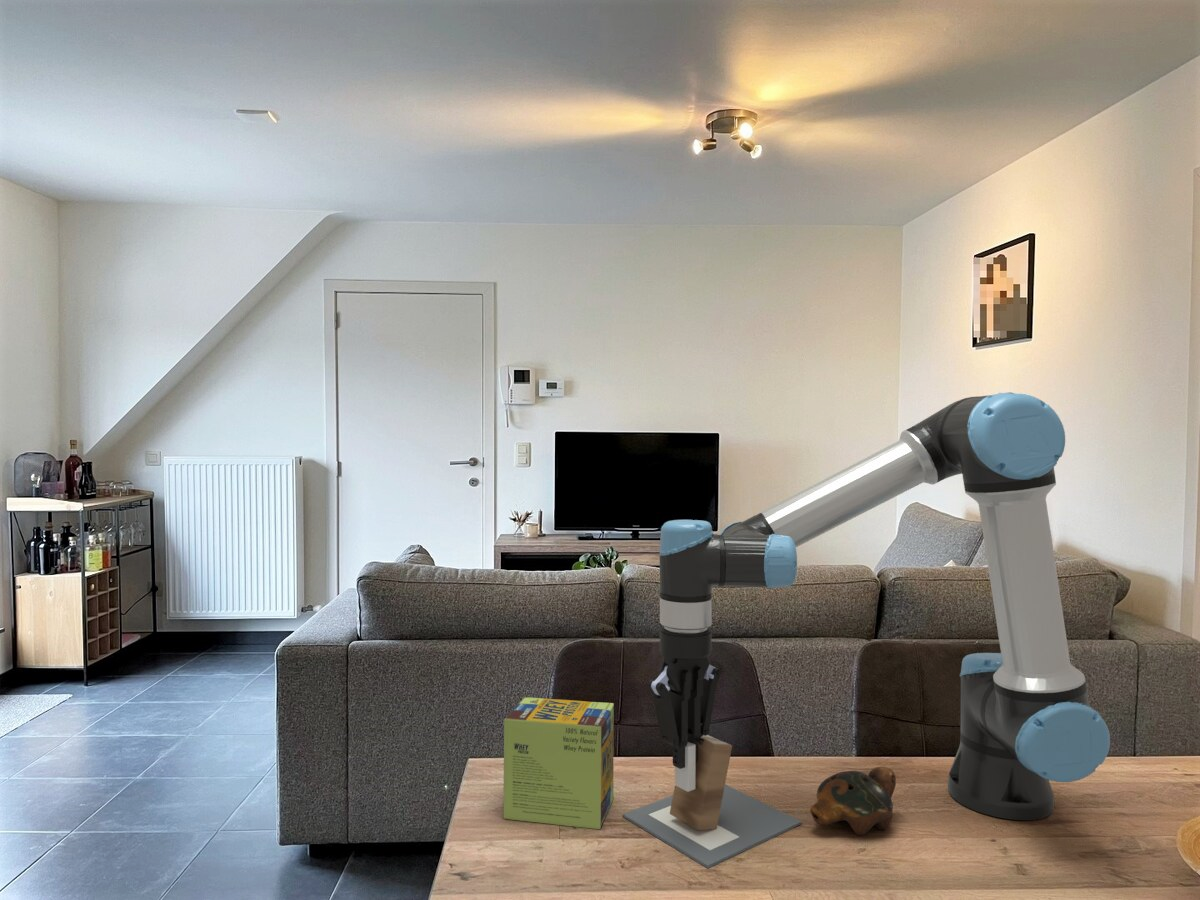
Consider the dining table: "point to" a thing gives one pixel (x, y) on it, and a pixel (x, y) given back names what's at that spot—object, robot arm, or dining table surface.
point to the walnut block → (704, 786)
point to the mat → (735, 833)
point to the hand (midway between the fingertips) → (685, 787)
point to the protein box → (559, 762)
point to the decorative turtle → (856, 799)
